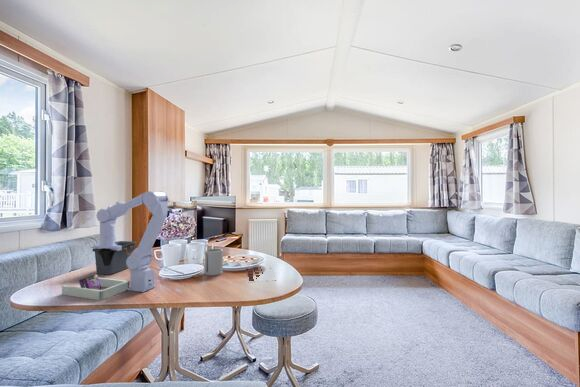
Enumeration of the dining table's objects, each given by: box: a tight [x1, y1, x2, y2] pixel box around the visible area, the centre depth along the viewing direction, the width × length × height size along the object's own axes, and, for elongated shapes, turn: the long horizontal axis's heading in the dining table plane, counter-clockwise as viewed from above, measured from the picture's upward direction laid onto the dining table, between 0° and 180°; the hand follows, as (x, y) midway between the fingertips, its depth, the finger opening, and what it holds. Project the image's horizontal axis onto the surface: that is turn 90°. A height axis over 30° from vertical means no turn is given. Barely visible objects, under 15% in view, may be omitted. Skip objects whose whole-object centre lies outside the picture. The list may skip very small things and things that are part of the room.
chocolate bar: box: [246, 266, 263, 281], centre depth 157 cm, size 27×14×1 cm, turn 10°
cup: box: [204, 248, 224, 276], centre depth 158 cm, size 9×9×12 cm
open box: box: [61, 276, 130, 301], centre depth 128 cm, size 21×14×4 cm, turn 73°
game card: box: [78, 273, 102, 290], centre depth 128 cm, size 7×5×9 cm
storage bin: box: [91, 240, 137, 275], centre depth 161 cm, size 21×16×14 cm
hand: (107, 265), depth 135 cm, fingers closed
